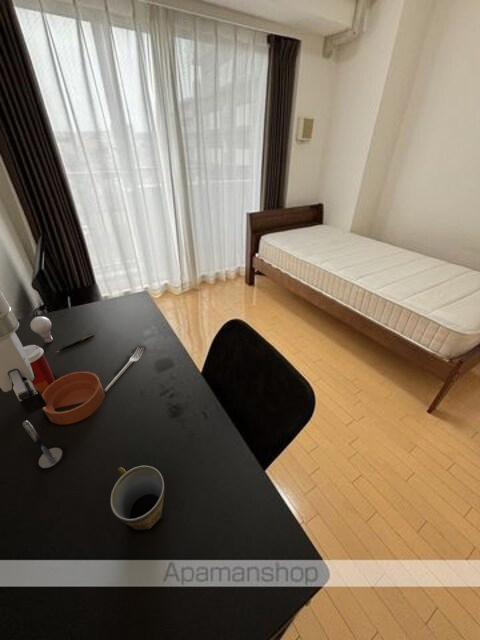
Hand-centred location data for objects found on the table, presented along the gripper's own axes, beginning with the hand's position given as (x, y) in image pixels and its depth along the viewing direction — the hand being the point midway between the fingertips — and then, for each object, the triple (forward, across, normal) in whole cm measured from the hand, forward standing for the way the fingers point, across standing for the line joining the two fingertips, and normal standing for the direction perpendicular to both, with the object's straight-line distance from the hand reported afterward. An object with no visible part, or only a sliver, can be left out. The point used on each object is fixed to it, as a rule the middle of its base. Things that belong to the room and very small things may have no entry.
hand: (32, 393), depth 57 cm
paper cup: (+24, -31, 0) cm, 39 cm away
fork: (+24, -21, +22) cm, 39 cm away
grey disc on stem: (+24, -2, -4) cm, 24 cm away
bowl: (+24, -16, +6) cm, 30 cm away
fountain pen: (+24, -46, +13) cm, 54 cm away
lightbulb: (+24, -54, +6) cm, 60 cm away
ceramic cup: (+24, +22, +8) cm, 34 cm away
